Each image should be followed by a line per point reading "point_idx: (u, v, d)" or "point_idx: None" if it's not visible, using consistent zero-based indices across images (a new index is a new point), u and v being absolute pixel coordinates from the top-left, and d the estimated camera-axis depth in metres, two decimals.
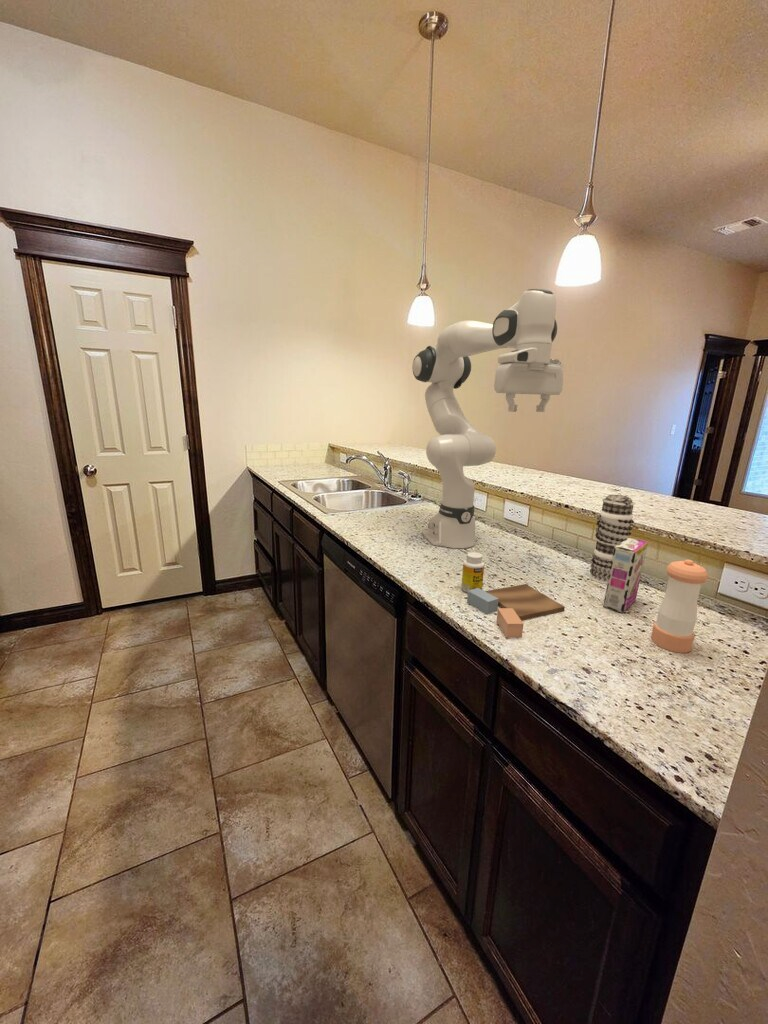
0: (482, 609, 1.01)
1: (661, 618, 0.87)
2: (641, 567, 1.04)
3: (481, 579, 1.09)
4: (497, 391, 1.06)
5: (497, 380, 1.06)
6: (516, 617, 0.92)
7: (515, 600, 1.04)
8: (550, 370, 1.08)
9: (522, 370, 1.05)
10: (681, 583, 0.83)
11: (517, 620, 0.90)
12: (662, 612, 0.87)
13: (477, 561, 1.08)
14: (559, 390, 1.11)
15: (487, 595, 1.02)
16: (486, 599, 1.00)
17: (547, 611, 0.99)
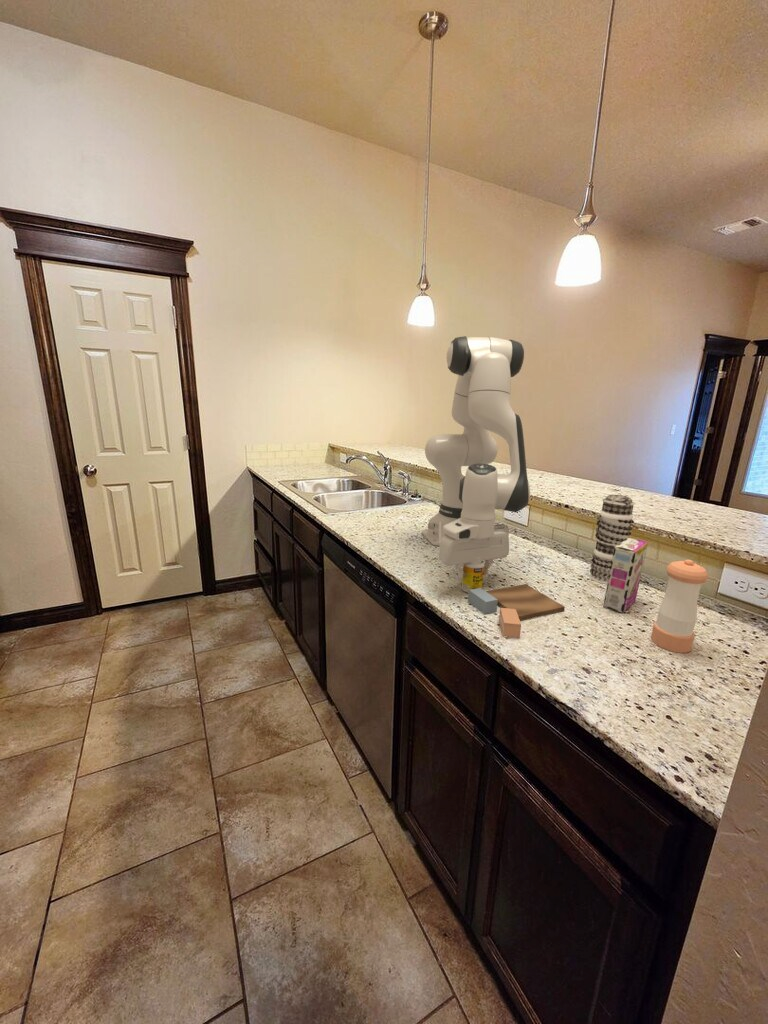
0: (480, 609, 1.01)
1: (661, 618, 0.87)
2: (641, 567, 1.04)
3: (481, 579, 1.09)
4: None
5: (441, 552, 1.06)
6: (516, 617, 0.91)
7: (515, 600, 1.04)
8: (495, 538, 1.09)
9: (466, 543, 1.05)
10: (681, 583, 0.83)
11: (516, 620, 0.90)
12: (662, 612, 0.87)
13: (477, 561, 1.08)
14: (505, 554, 1.11)
15: (487, 595, 1.02)
16: (484, 599, 1.00)
17: (547, 611, 0.99)
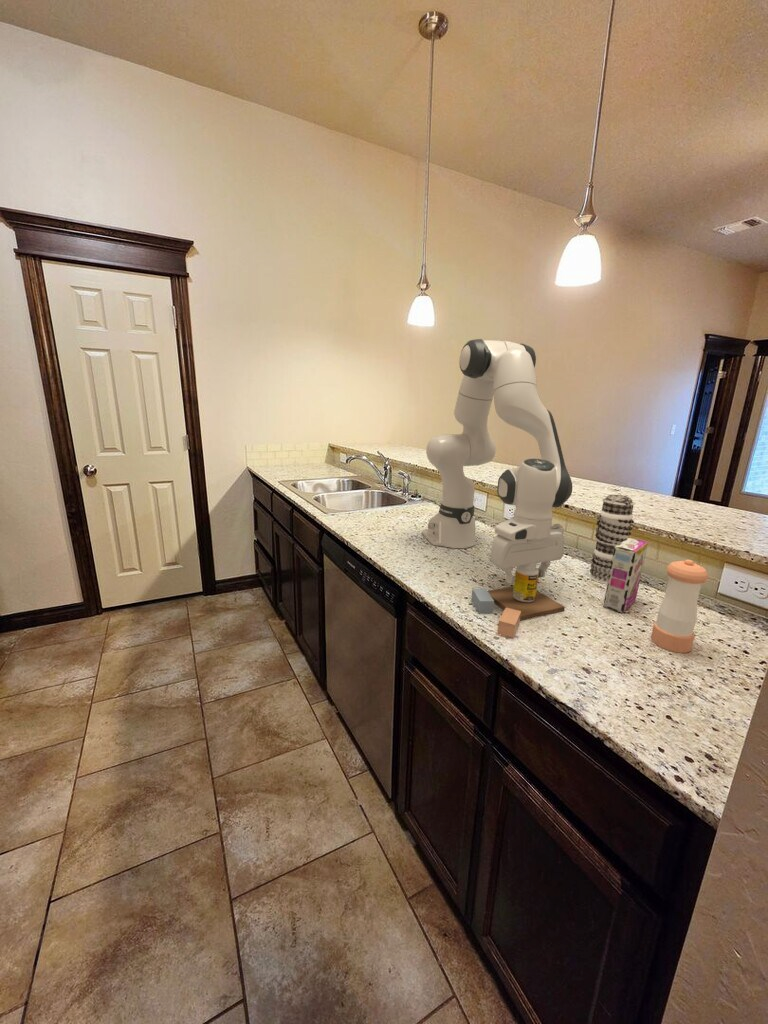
0: (477, 608, 1.01)
1: (661, 618, 0.87)
2: (641, 567, 1.04)
3: (535, 587, 1.02)
4: (494, 564, 0.99)
5: (494, 553, 0.98)
6: (514, 618, 0.91)
7: (515, 600, 1.04)
8: (550, 539, 1.01)
9: (521, 544, 0.98)
10: (681, 583, 0.83)
11: (512, 621, 0.90)
12: (662, 612, 0.87)
13: (532, 568, 1.01)
14: (560, 556, 1.04)
15: (487, 596, 1.01)
16: (480, 598, 1.00)
17: (547, 611, 0.99)
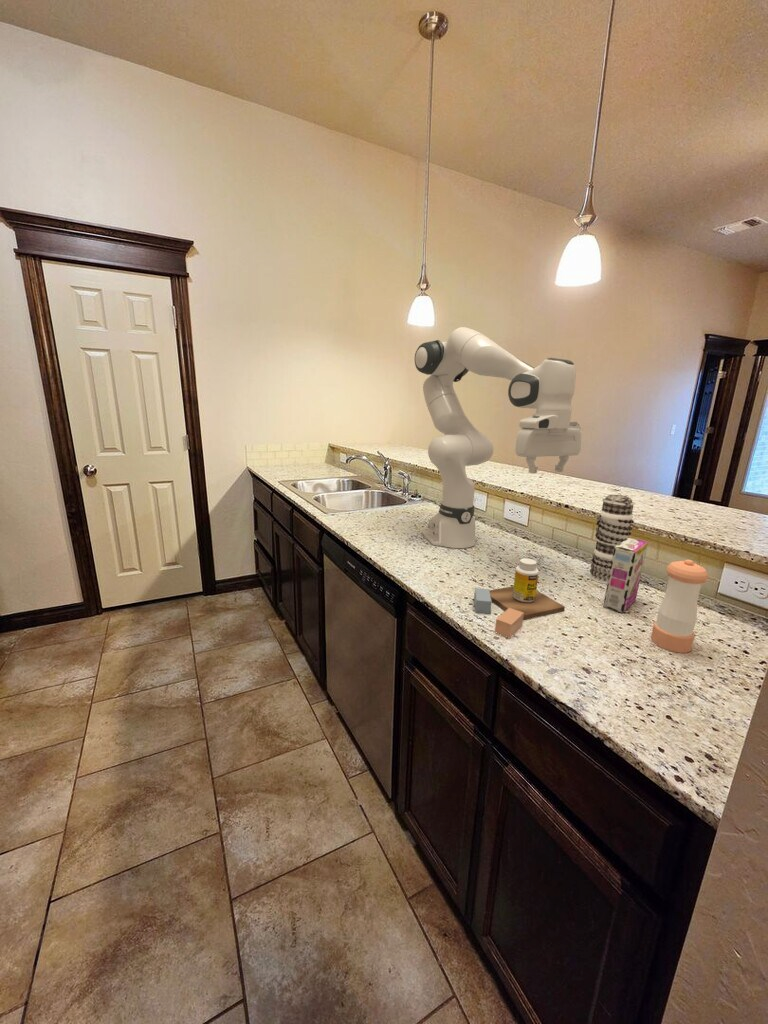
0: (475, 607, 1.01)
1: (661, 618, 0.87)
2: (641, 567, 1.04)
3: (535, 587, 1.02)
4: (518, 455, 1.10)
5: (519, 444, 1.09)
6: (513, 618, 0.91)
7: (515, 600, 1.04)
8: (569, 433, 1.12)
9: (543, 435, 1.09)
10: (681, 583, 0.83)
11: (510, 620, 0.90)
12: (662, 612, 0.87)
13: (532, 568, 1.01)
14: (577, 451, 1.15)
15: (486, 596, 1.01)
16: (478, 598, 1.00)
17: (547, 611, 0.99)
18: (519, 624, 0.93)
